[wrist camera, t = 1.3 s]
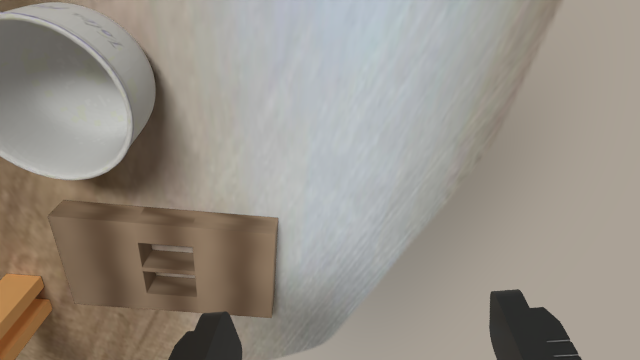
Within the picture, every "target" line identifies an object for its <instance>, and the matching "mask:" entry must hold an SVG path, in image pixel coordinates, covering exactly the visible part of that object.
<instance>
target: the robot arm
mask: <svg viewBox="0 0 640 360" xmlns="http://www.w3.org/2000/svg"><path fill="white" fill-rule="evenodd" d="M489 328H490V337H491V342H492V345H493V349H494V352H495V355H496V358H497V360H582V359H581V358H580V357H579V356H578V352H577V350H576V349H575V347H574V345H573V343H572V342H570V338H569V336H568V335H567V333H566V331H565V329H564V328H563V326H562V324H561V323H560V321H559V320H557V319H556V318H555V317H554V316H553V315H552V314H551V313H550V312H548V311H547V310H546V309H545V308H544V307H539V308H529V306H528V304H527V302H526V300H525V298H524V296H523V294H522V292H521V291H520V290H518V289H517V290H505V291H492V292H491V294H490V326H489ZM168 360H242V346H241V342H240V339H239V337H238V334H237V332H236V329H235V327H234V324H233V322H232V319H231V317H230V315H229V313H228V312H227V311H224V312H211V313H203V314H202V315H201V317H200V319H199V321H198V323H197V326H196V328H195V330H194V331H188V332H186V334H185V335H184V336H183V337H182V338H181V339H180V340H179V342H178V343H177V344H176V345H175V346H174V349H173V351H172V353H171V355H170V357H169V359H168Z"/></svg>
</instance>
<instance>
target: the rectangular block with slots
mask: <svg viewBox="0 0 640 360" xmlns="http://www.w3.org/2000/svg"><path fill="white" fill-rule="evenodd" d="M48 219H49V222H50V226H51V229H52V232H53V235H54V238H55V242H56V245H57V248H58V251H59V255H60V258H61V261H62V264H63V267H64V271H65V274H66V277H67V280H68V283H69V287H70V290H71V293H72V296H73V300H74V303H75V304H84V305H98V306H112V307H126V308H140V309H154V310H168V311H182V312H195V313H211V312H224V311H227V312H228V313H229V315H237V316H251V317H265V318H272V311H273V304H274V292H275V272H276V252H277V231H278V218H274V217H261V216H249V215H237V214H225V213H212V212H200V211H188V210H176V209H164V208H151V207H139V206H127V205H115V204H103V203H90V202H78V201H66V200H63V201H62V202H61V203H60V204H59V205H58V206H57V207H56V208H55V209H54V210H53V211H52V212H51V213H50V214H49V215H48ZM151 244H160V245H173V246H186V247H193V253H184V252H171V251H159V250H152V248H151ZM155 272H160V273H173V274H187V275H195V278H196V279H194V278H181V277H168V276H156V273H155Z"/></svg>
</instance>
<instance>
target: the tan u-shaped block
mask: <svg viewBox="0 0 640 360" xmlns="http://www.w3.org/2000/svg"><path fill="white" fill-rule="evenodd" d="M43 288H44V284H43V281H42V278H41V276H31V275H17V274H6V275H5V276H4V277H3V278H2V279H1V280H0V360H15V359H16V357H17V356H18V355H19V353H20V352H21V351H22V349H23V348H24V347H25V345H26V344H27V343H28V341H29V340H30V338H31V337H32V336H33V334H34V333H35V332H36V330H37V329H38V328H39V326H40V325H41V324H42V322H43V321H44V320H45V318H46V317H47V316H48V314H49V313H50V312H51V310H52V306H51V303H50V301H49V300H47V299H35V297H36V296H37V295H38V294H39V293H40V291H41V290H42V289H43Z"/></svg>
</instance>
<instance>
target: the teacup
mask: <svg viewBox="0 0 640 360" xmlns="http://www.w3.org/2000/svg"><path fill="white" fill-rule="evenodd" d="M155 90H156V87H155V80H154V75H153V71H152V68H151V65H150V63H149V61H148V59H147V57H146V55H145V53H144V52H143V50H142V48H141V47H140V45H139V44H138V43H137V42H136V40H135V39H134V38H133V37H132V36H131V35H130V34H129V33H128V32H127V31H126V30H125V29H124V28H123V27H121V26H120V25H119V24H118V23H116V22H115V21H113V20H112V19H110V18H109V17H107V16H105V15H103V14H102V13H99V12H97V11H95V10H92V9H90V8H87V7H84V6H80V5H75V4H70V3H61V2H50V3H40V4H34V5H29V6H25V7H21V8H16V9H13V10H9V11H6V12H0V156H1V157H2V158H4V159H6V160H7V161H9V162H11V163H13V164H14V165H16V166H18V167H20V168H23V169H25V170H27V171H30V172H33V173H35V174H38V175H42V176H45V177H50V178H55V179H62V180H84V179H90V178H93V177H97V176H99V175H102V174H104V173H106V172H108V171H110V170H111V169H112V168H114V167H115V166H117V165H118V164H119V163H120V162H121V160H122V159H123V158H124V156H125V155H126V154H127V152H128V150H129V148H130V145H131V144H132V143H133V142H134V140H135V139H136V138H137V136H138V135H139V134H140V132H141V131H142V129H143V128H144V126H145V125H146V123H147V121H148V120H149V117H150V115H151V113H152V110H153V107H154V103H155Z"/></svg>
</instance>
